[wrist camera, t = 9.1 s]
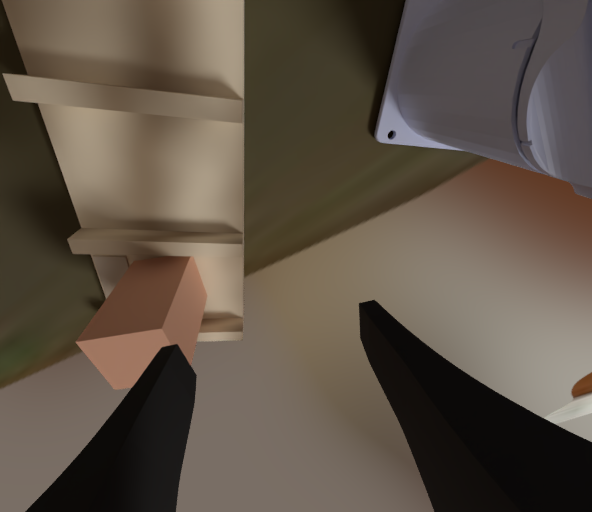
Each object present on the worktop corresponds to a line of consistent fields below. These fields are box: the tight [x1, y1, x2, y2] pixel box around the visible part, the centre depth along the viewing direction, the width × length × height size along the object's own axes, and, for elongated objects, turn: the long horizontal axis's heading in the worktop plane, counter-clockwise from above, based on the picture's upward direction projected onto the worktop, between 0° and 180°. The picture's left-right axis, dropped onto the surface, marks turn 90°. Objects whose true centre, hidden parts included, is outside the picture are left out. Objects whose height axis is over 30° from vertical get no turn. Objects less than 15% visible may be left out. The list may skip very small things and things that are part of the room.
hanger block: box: [76, 256, 207, 390], centre depth 17 cm, size 4×4×7 cm
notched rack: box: [2, 0, 244, 341], centre depth 15 cm, size 10×25×2 cm, turn 174°
